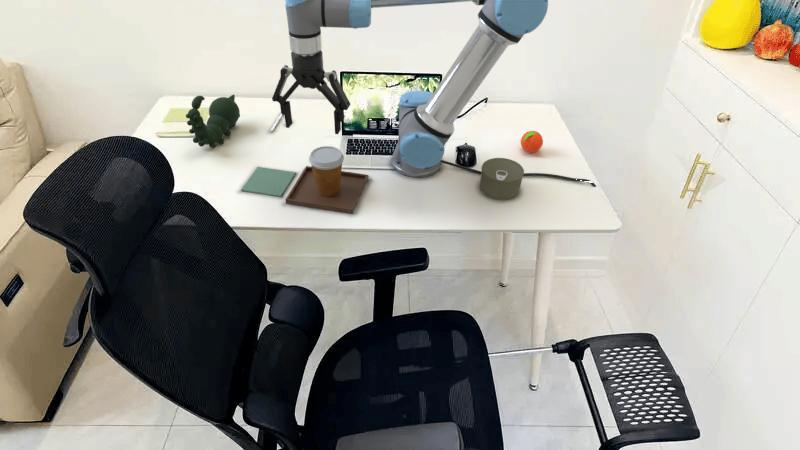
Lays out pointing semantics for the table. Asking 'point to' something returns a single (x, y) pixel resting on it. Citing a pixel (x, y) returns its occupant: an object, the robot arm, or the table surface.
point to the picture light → (277, 121)
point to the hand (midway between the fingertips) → (313, 128)
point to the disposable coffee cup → (327, 169)
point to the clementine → (531, 141)
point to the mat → (268, 181)
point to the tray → (341, 202)
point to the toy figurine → (213, 120)
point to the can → (501, 178)
